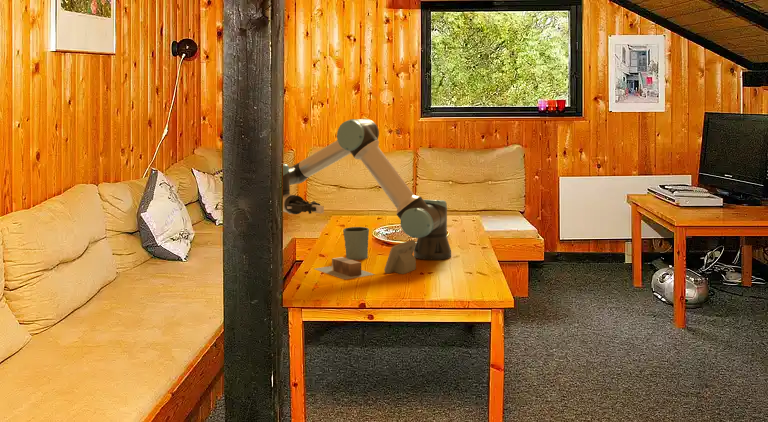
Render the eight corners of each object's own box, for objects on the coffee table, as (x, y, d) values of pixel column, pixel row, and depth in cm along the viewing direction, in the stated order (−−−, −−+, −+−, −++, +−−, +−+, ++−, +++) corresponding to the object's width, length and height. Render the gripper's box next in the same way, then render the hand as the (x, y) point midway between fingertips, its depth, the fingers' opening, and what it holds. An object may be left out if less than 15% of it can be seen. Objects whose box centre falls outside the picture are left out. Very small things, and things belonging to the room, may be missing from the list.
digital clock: (406, 265, 310) (405, 238, 308) (424, 268, 304) (424, 241, 302) (377, 273, 298) (377, 244, 297) (395, 276, 292) (395, 247, 291)
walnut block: (331, 258, 301) (350, 264, 290) (342, 256, 303) (361, 262, 293) (332, 270, 301) (350, 276, 291) (342, 268, 304) (361, 274, 293)
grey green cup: (373, 257, 326) (373, 227, 325) (362, 262, 317) (361, 231, 315) (351, 255, 331) (350, 226, 329) (339, 260, 321) (338, 230, 320)
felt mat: (313, 269, 304) (313, 268, 304) (343, 265, 312) (343, 264, 312) (344, 280, 287) (344, 279, 286) (375, 275, 294) (375, 274, 294)
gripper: (306, 211, 331) (337, 217, 312) (278, 215, 324) (307, 221, 304) (306, 193, 330) (336, 198, 311) (277, 196, 322) (306, 201, 303)
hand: (322, 209), depth 307 cm, fingers closed
